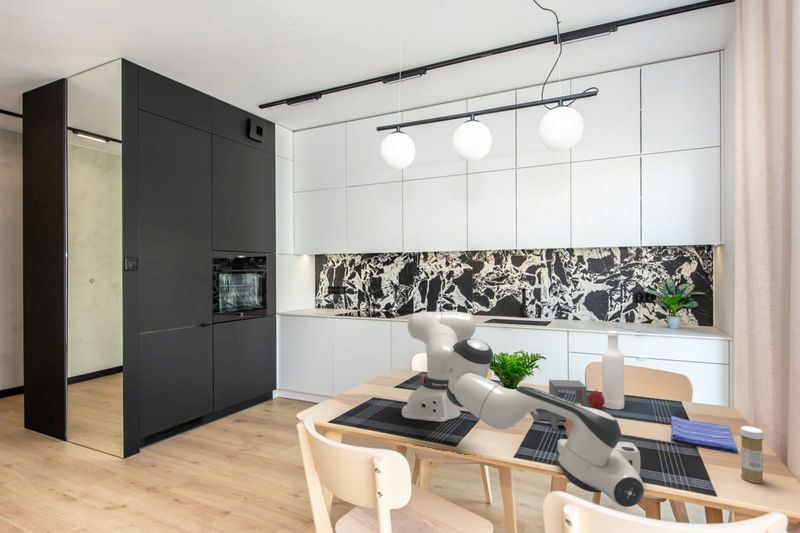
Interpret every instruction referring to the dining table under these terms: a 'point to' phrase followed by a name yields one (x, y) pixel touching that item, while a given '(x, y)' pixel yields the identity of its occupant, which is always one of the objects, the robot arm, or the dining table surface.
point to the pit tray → (545, 415)
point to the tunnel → (566, 385)
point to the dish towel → (702, 434)
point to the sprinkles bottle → (751, 454)
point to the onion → (596, 399)
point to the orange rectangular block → (569, 425)
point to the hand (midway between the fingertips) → (588, 439)
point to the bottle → (613, 374)
